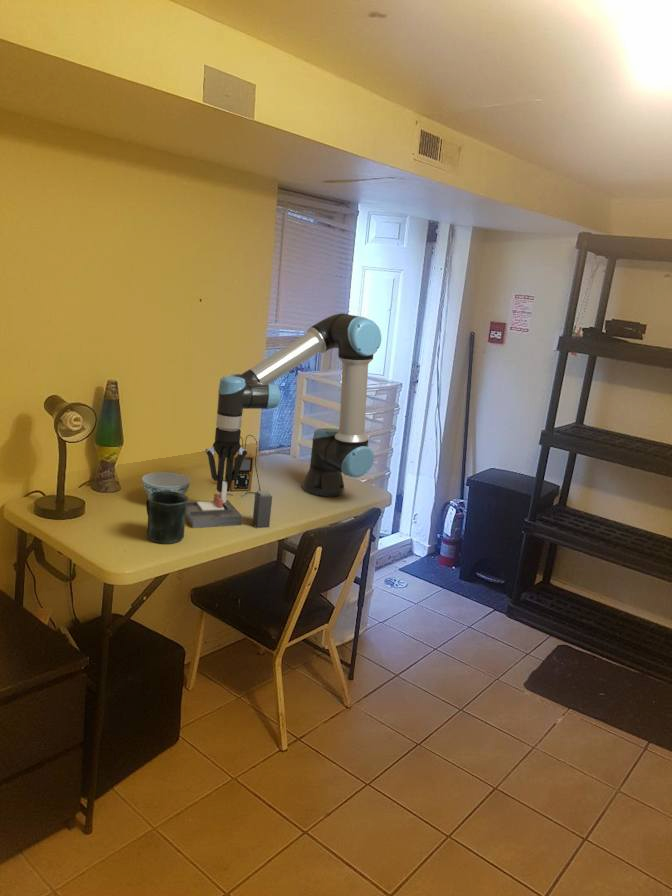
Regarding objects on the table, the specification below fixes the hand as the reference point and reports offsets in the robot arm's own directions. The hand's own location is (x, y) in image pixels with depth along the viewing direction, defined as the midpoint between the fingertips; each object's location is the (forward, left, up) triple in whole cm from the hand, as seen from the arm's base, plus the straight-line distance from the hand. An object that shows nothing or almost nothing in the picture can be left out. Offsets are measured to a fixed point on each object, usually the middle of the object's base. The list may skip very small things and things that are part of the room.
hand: (222, 501), depth 216 cm
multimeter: (-14, -20, -5) cm, 25 cm away
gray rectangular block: (-10, +9, -5) cm, 14 cm away
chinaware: (+14, -15, -5) cm, 21 cm away
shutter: (+4, 0, -2) cm, 4 cm away
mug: (+21, +12, -5) cm, 25 cm away
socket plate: (+3, +1, -5) cm, 6 cm away
